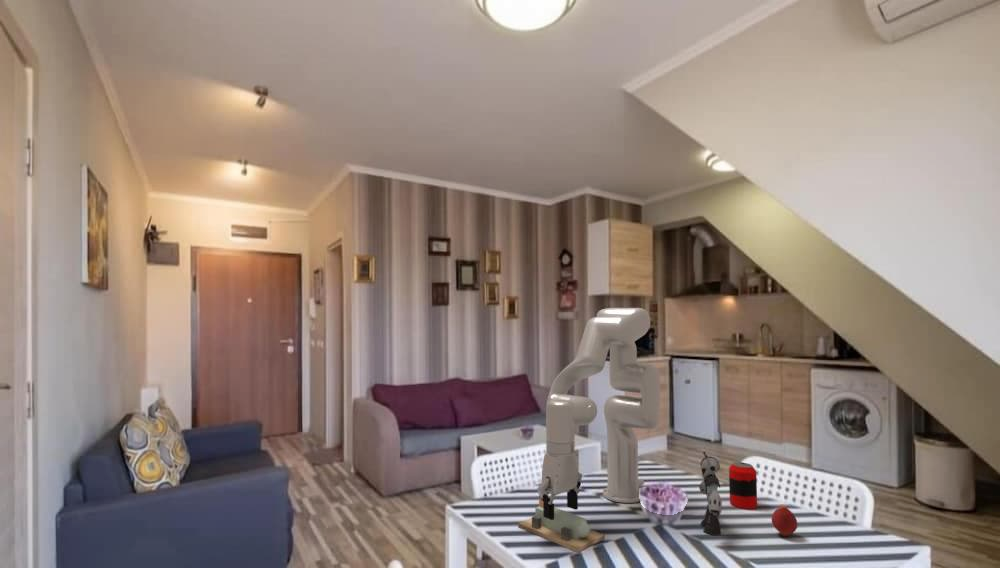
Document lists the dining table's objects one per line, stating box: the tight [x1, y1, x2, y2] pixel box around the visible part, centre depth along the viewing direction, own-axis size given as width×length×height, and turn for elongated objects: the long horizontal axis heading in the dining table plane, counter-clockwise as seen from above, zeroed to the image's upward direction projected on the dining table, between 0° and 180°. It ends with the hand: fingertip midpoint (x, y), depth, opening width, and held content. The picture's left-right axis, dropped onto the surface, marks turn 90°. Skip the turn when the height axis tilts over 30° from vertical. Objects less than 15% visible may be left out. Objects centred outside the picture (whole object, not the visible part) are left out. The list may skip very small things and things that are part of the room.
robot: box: [698, 451, 723, 536], centre depth 136 cm, size 20×5×20 cm, turn 166°
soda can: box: [728, 461, 758, 510], centre depth 153 cm, size 8×8×12 cm
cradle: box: [517, 515, 605, 553], centre depth 132 cm, size 11×20×4 cm, turn 44°
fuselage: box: [534, 497, 591, 539], centre depth 131 cm, size 4×16×6 cm, turn 44°
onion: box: [771, 503, 798, 537], centre depth 131 cm, size 6×6×8 cm
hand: (560, 513), depth 132 cm, fingers open, 9 cm apart
